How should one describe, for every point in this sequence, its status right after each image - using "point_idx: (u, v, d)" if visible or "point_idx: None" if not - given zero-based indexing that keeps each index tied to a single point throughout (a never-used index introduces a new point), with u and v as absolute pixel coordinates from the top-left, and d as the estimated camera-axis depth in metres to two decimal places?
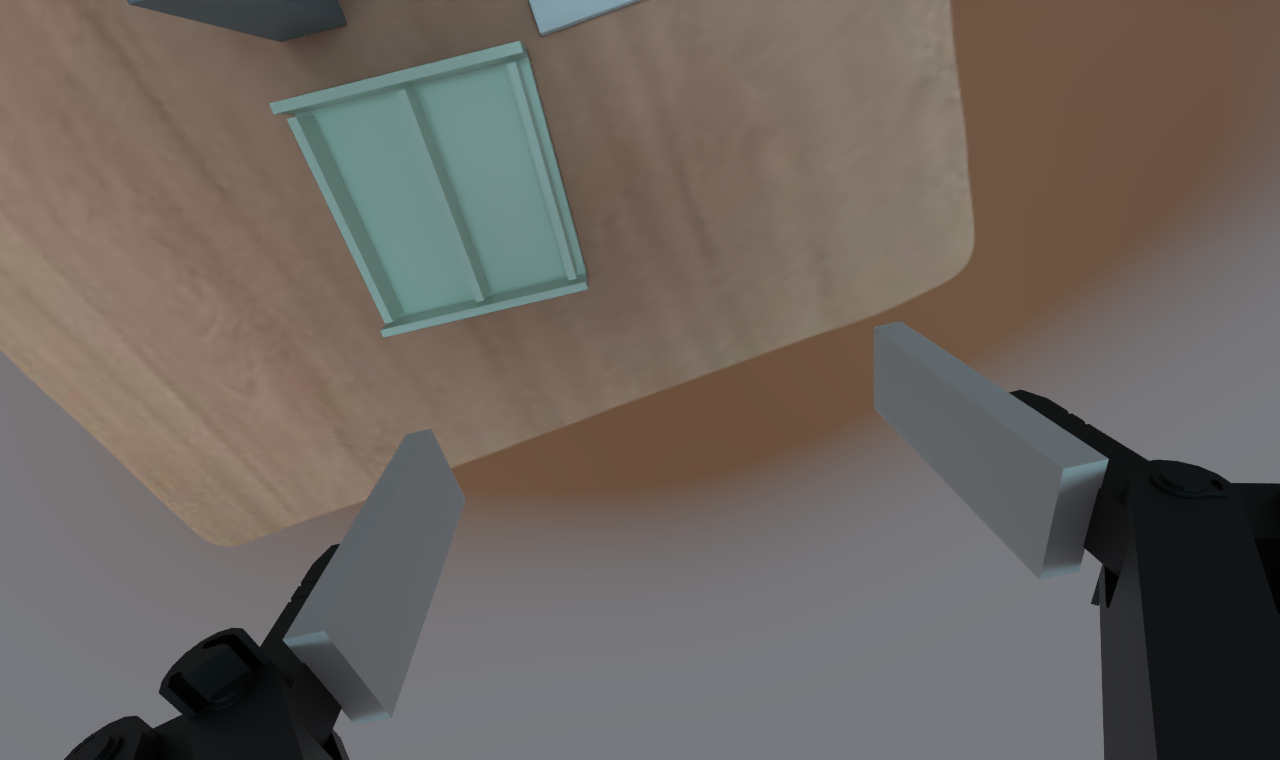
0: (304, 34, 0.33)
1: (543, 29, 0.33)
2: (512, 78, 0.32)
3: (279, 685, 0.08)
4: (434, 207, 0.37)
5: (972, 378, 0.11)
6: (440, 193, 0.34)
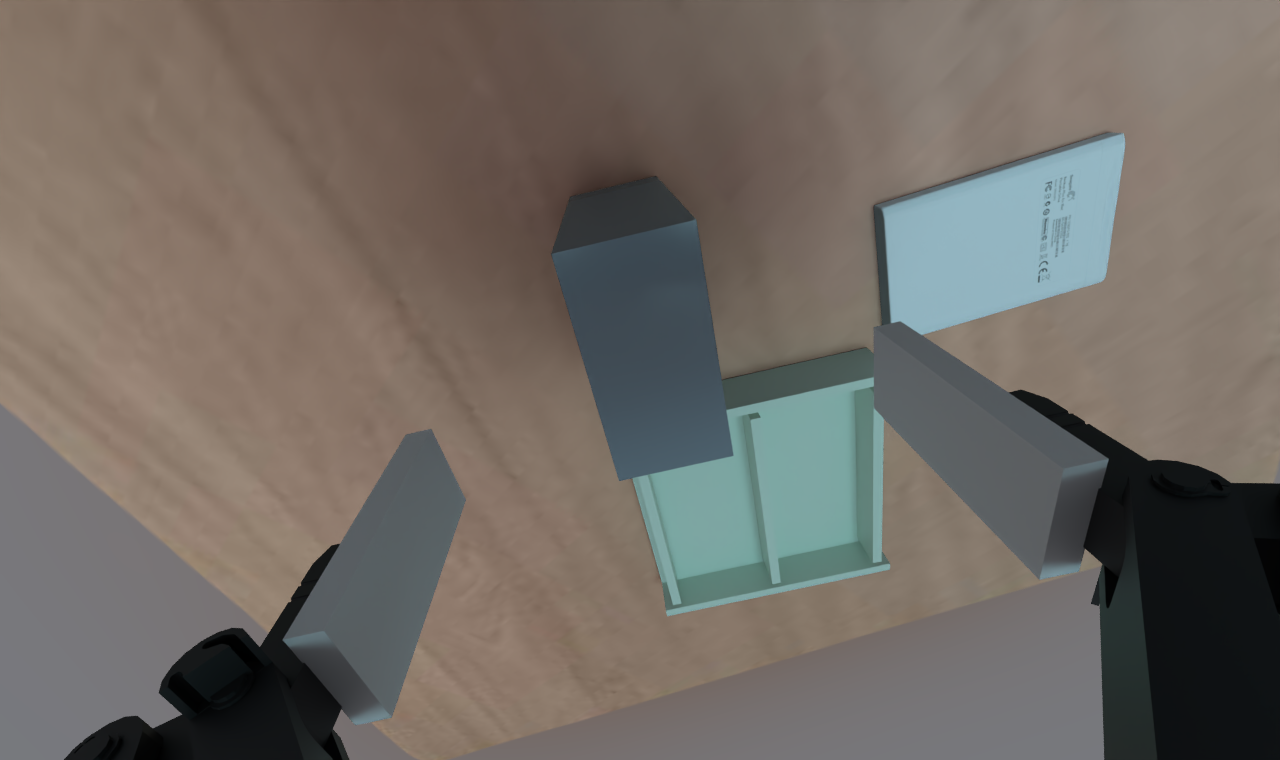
0: None
1: None
2: None
3: (279, 685, 0.08)
4: (736, 491, 0.35)
5: (972, 377, 0.11)
6: (767, 499, 0.32)
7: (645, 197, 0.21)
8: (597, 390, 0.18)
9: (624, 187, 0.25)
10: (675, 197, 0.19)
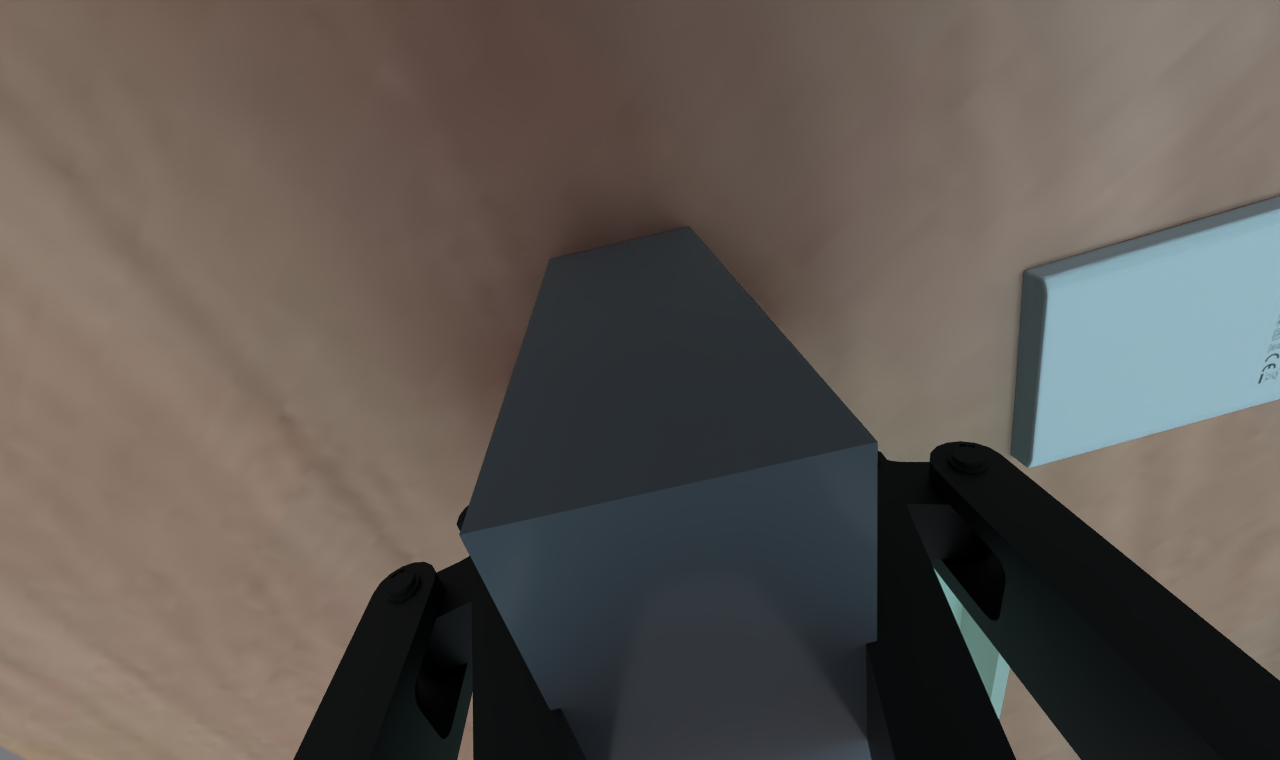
0: None
1: (1036, 464, 0.20)
2: None
3: None
4: None
5: None
6: None
7: (686, 288, 0.11)
8: None
9: (639, 249, 0.15)
10: (755, 302, 0.09)
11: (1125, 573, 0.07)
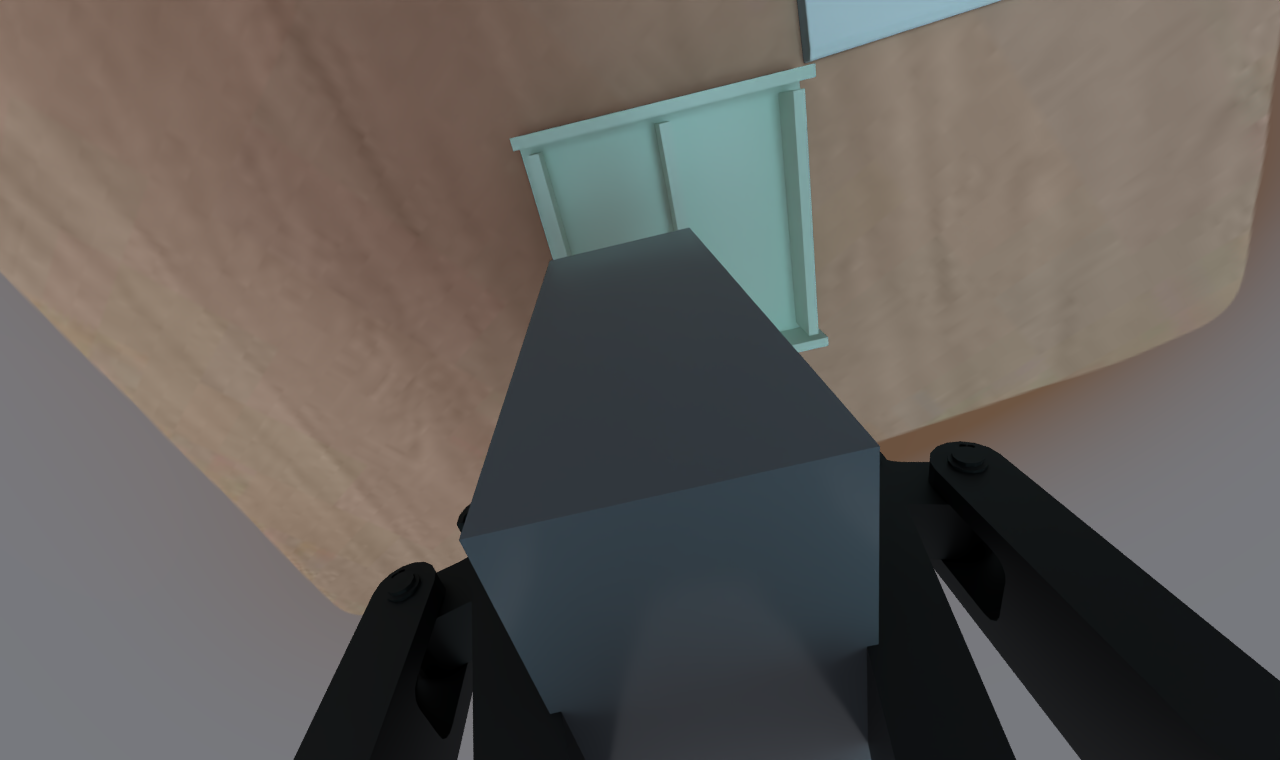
0: None
1: (815, 56, 0.28)
2: (796, 107, 0.27)
3: None
4: None
5: None
6: None
7: (686, 290, 0.11)
8: None
9: (639, 250, 0.15)
10: (755, 304, 0.09)
11: (1125, 574, 0.07)
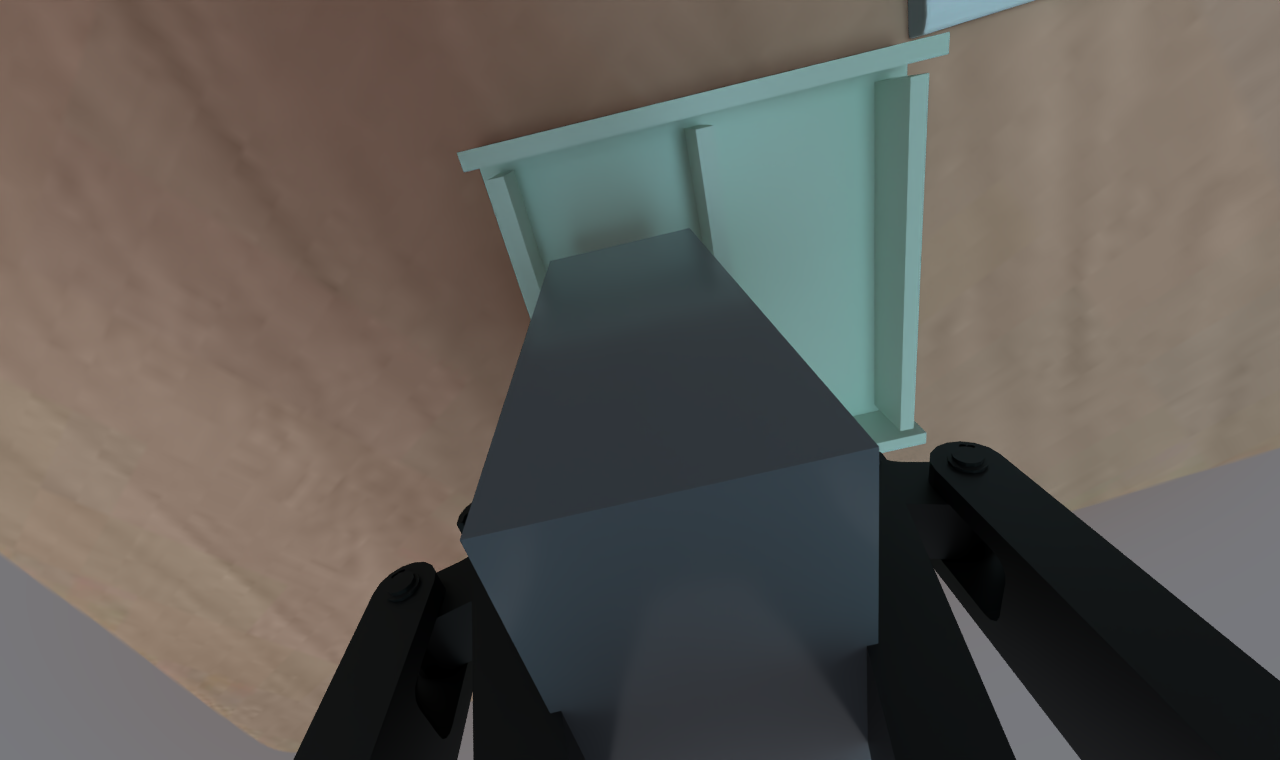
0: None
1: (933, 26, 0.18)
2: (913, 103, 0.17)
3: None
4: None
5: None
6: None
7: (686, 291, 0.11)
8: None
9: (639, 250, 0.15)
10: (755, 305, 0.09)
11: (1125, 573, 0.07)
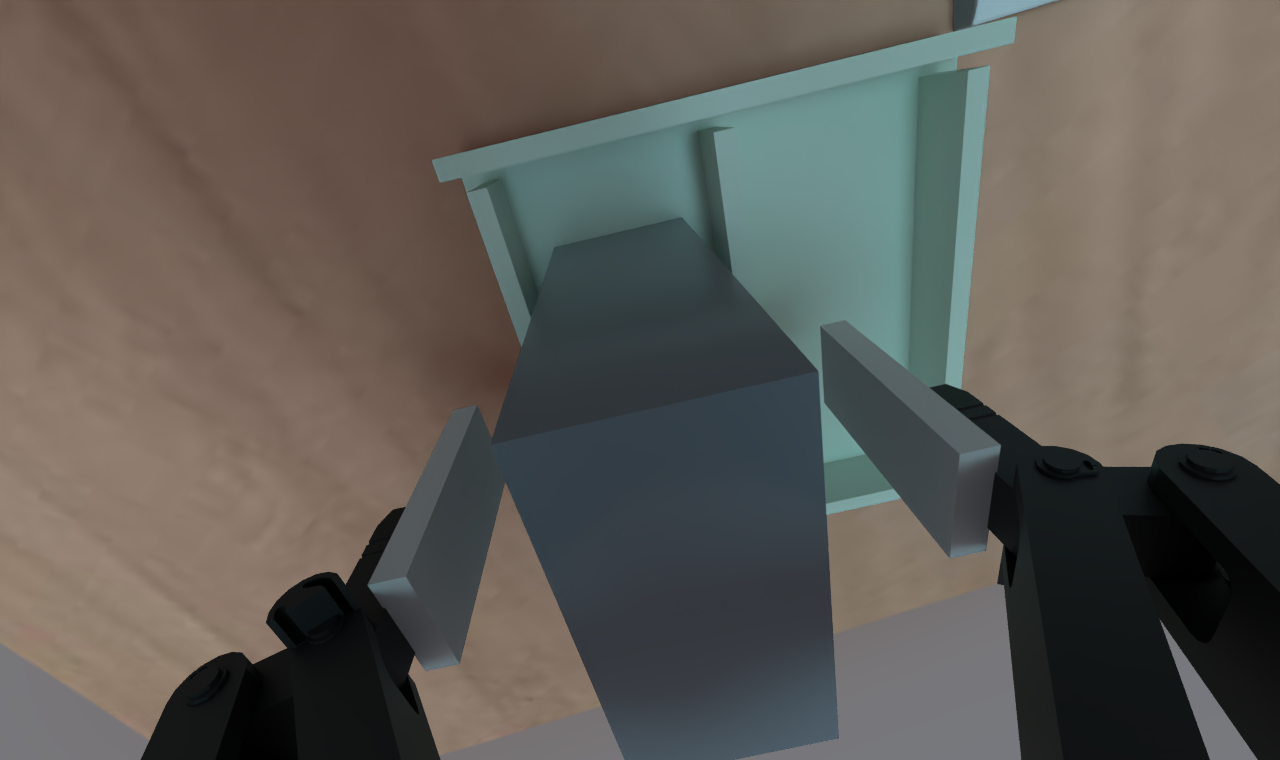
0: None
1: (984, 16, 0.15)
2: (970, 102, 0.14)
3: (366, 630, 0.09)
4: None
5: (898, 372, 0.12)
6: None
7: (676, 268, 0.12)
8: (594, 663, 0.09)
9: (636, 237, 0.16)
10: (734, 277, 0.11)
11: None
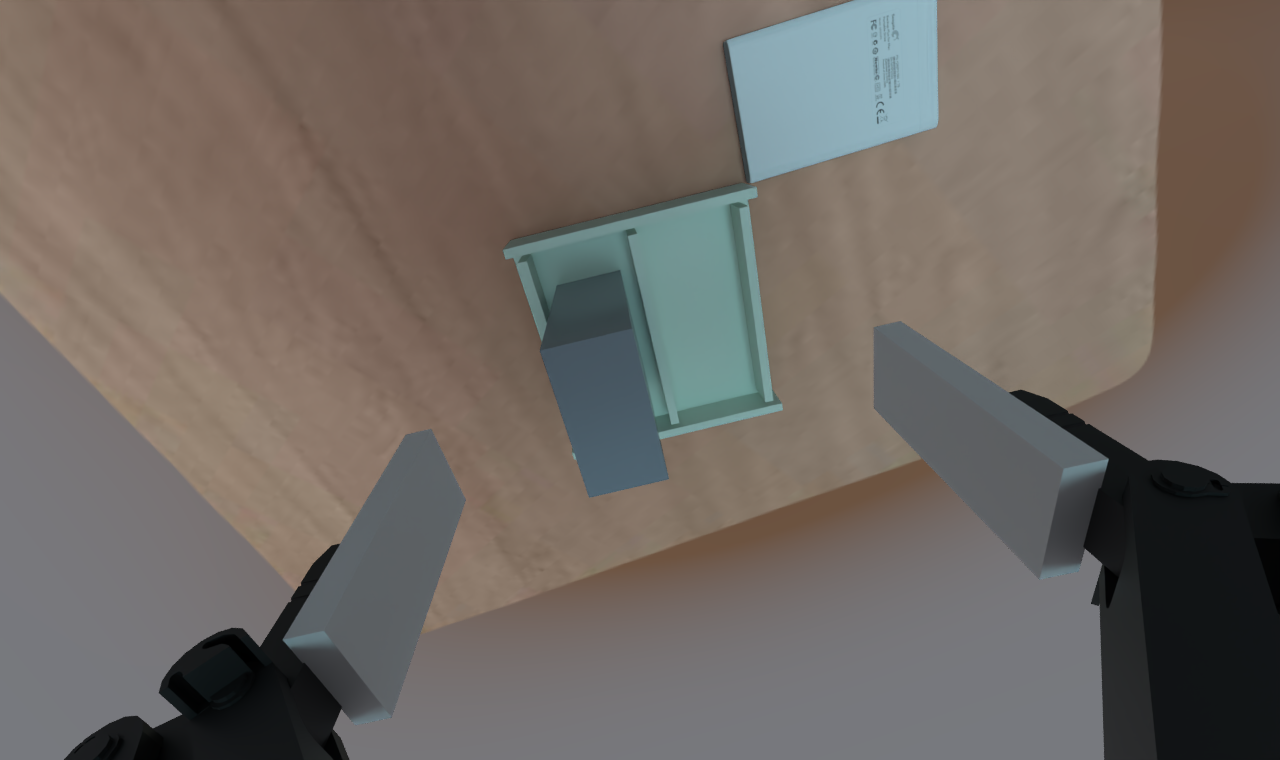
0: None
1: (754, 179, 0.33)
2: (743, 220, 0.32)
3: (279, 685, 0.08)
4: None
5: (972, 377, 0.11)
6: (654, 326, 0.34)
7: (607, 297, 0.30)
8: (572, 435, 0.26)
9: (596, 280, 0.34)
10: (626, 301, 0.28)
11: None
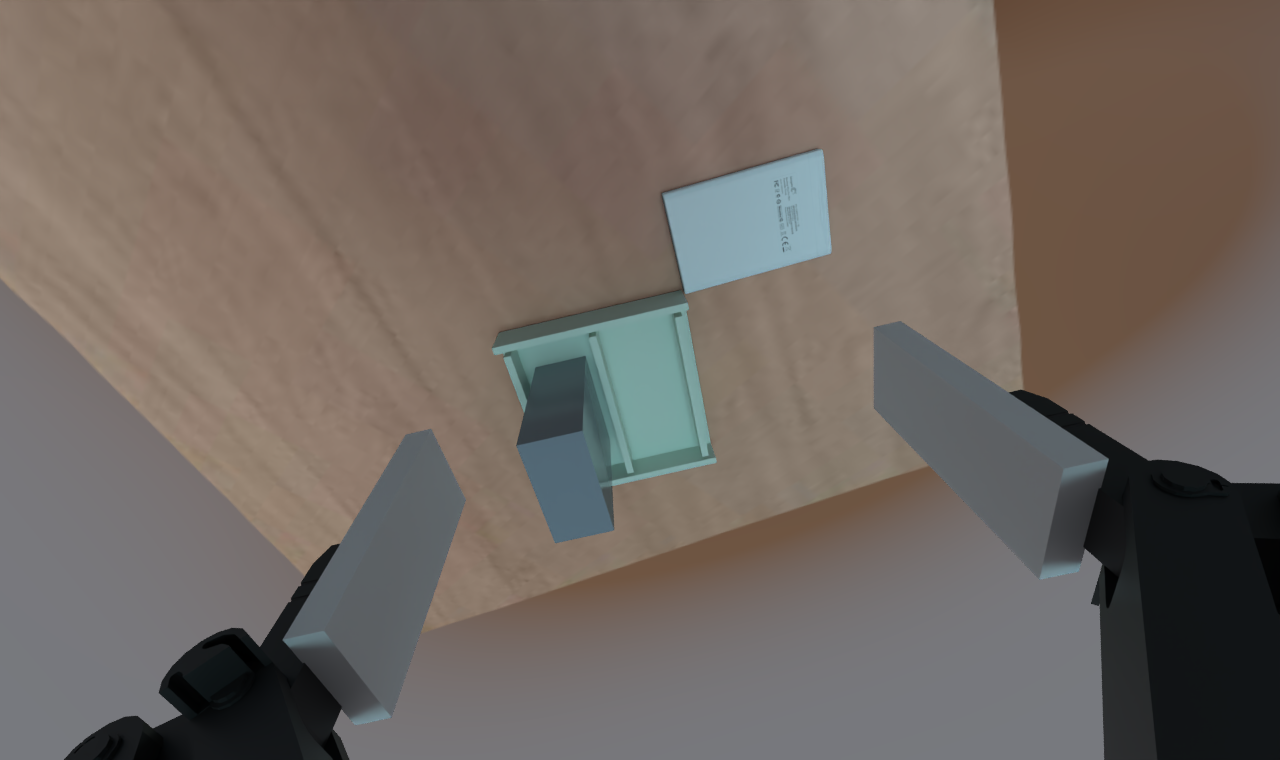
0: None
1: (688, 291, 0.42)
2: (678, 326, 0.41)
3: (279, 685, 0.08)
4: None
5: (973, 378, 0.11)
6: (611, 402, 0.44)
7: (571, 390, 0.39)
8: (541, 501, 0.36)
9: (565, 367, 0.43)
10: (583, 397, 0.38)
11: None
